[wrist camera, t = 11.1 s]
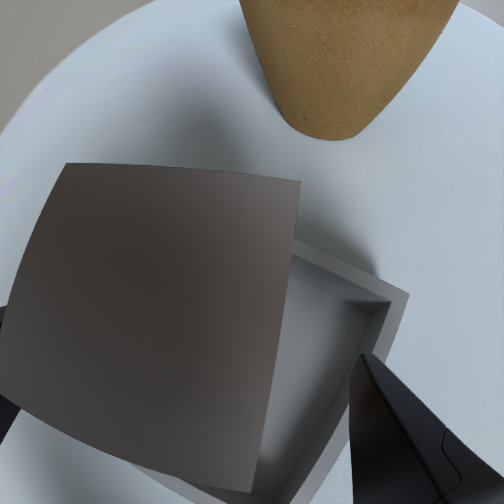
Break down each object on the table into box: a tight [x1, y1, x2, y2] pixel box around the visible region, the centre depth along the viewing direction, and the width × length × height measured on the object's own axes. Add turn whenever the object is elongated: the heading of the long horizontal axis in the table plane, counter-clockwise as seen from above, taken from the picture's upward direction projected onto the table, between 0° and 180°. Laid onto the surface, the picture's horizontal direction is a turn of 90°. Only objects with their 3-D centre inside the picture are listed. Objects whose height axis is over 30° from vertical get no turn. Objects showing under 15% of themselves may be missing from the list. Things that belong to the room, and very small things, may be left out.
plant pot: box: [239, 0, 459, 140], centre depth 17 cm, size 15×15×16 cm
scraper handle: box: [0, 163, 301, 493], centre depth 9 cm, size 4×4×13 cm
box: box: [127, 238, 409, 504], centre depth 14 cm, size 14×14×4 cm
